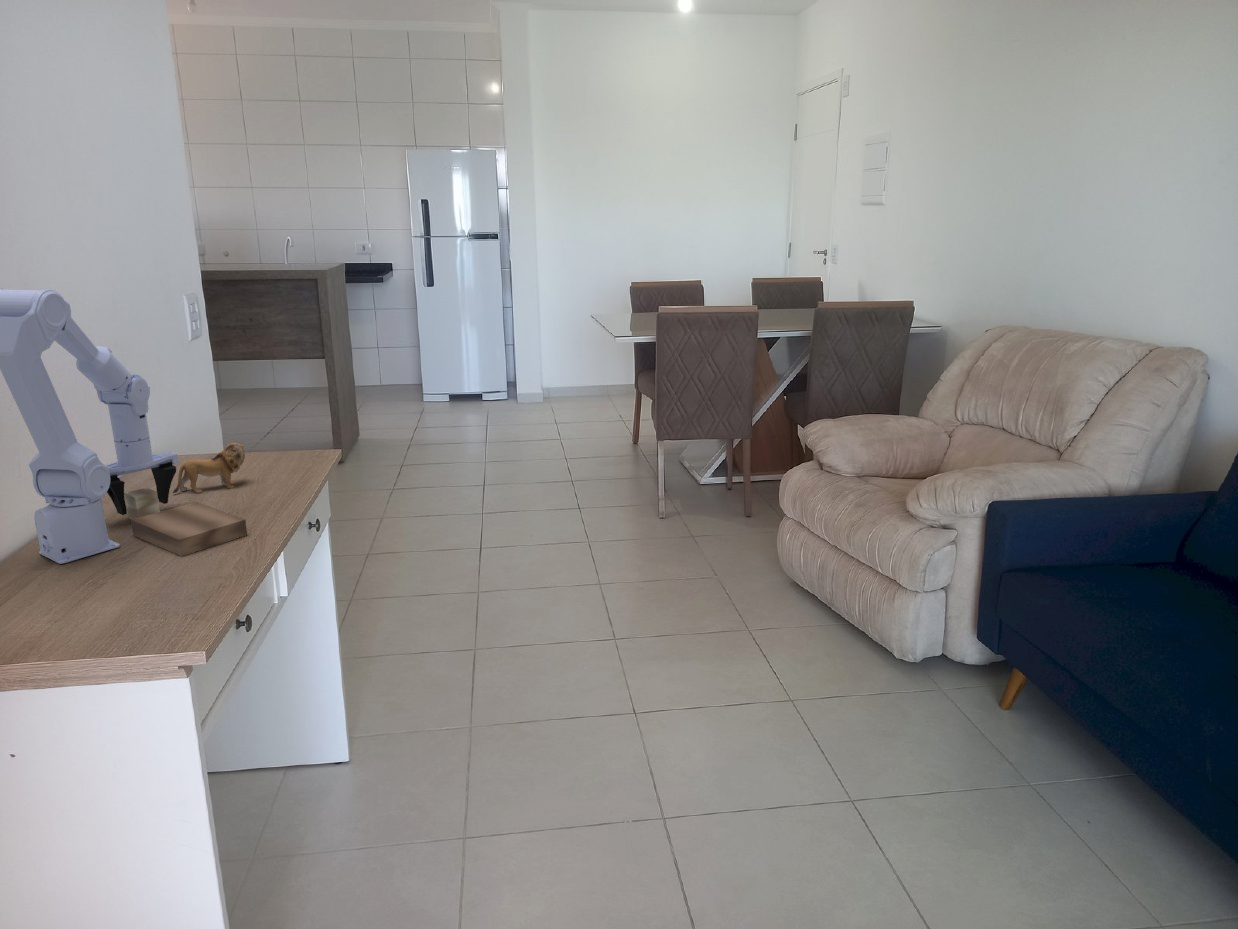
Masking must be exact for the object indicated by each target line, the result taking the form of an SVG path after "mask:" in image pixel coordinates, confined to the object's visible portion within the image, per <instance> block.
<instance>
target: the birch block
mask: <svg viewBox="0 0 1238 929" xmlns="http://www.w3.org/2000/svg"><path fill="white" fill-rule="evenodd" d="M124 498H125V504H126V509H127V517H128V519H130V520H132V519H135V518H139V517H143V516H146V515H150V514H154V513H157V512H161V510H160V502H159V500H158V495H157V490H154V489H150V488H148V487H143V488H138V489H136V490H131V491H126V492H124Z"/></svg>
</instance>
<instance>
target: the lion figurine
mask: <svg viewBox="0 0 1238 929" xmlns="http://www.w3.org/2000/svg"><path fill="white" fill-rule="evenodd" d="M245 453H246V452H245V450H244V445H243V444H240V443H237V442H231V443H229V444H227V445H226V446H225V448H224V449H223V450H222V451H220V452H218V453H217V454H216V455H215V456H214V457H212V458H211V459H210V458H209V459H189V460H187V461H184V462H183V463H182V464H181V465H180V468H179V472H178V475H177V476H178V477H177V484H176V488H175V489H174V490H173V492H172V494H175V493H177V492H179V490H180V491H181V492H182V491H183V492H184V491H187V490H188V487H186V486H185V484H186V483H187V482H188V481H189V480H190V488H192V490H193V491H194V492H195V493H196V494H201V493H203V490H202V489H201V488H198V487H197V481H198V478H199V475H202V476H203V477H210V478H211V477H217V476H219V477H220V479H221V480H220V482H221V485H222V486H226V487H227V489H234V488H235V486H234V484H232V483H231V481H232V474H233V473H237V472H238V471H239V470H240V468H241V466H243V463H244V462H245V457H246V454H245Z"/></svg>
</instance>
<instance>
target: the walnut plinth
mask: <svg viewBox="0 0 1238 929" xmlns="http://www.w3.org/2000/svg"><path fill="white" fill-rule="evenodd" d="M130 524H131V529H132V535H133V536H134V537H136V538H138V539H141V540H142V541H145V542H147V543H149V544H151V545H154V546H156V547H159V548H160V549H161V548H162V549H163V550H166V551H168V552H170V553H173V554H175V555H177V556H180V557H184V556H188V555H191V554H193V553H196V551H197V552H200V551H202V550H206V549H208V548H211V547H215V546H218V545H221V544H225V543H228V542H230V541H234V540H237V539H239V538H238V537H240V538H243V537H246V536H248V530H247V522H246V519H245V518H242V517H239V516H236V515H233V514H231V513H229V512H226V511H223V510H220V509H217V508H214V507H212V506H208V505H206V504H204V503H201V502H198V501H194V502H192V503H191V502H190V503H188V504H183V505H180V506H176V507H172V508H168V509H165V510H160V512H157V513H154V514H150V515H146V516H143V517H139V518H135V519H130ZM236 538H237V539H236Z"/></svg>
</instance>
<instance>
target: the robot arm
mask: <svg viewBox="0 0 1238 929" xmlns="http://www.w3.org/2000/svg"><path fill="white" fill-rule="evenodd" d="M54 342H55V343H56V344H58V345H59V346H61V347H62V348H63V349H65V351H67V352H68V353H70V355H72V356H73V357H74V358H75V359H76V362H75V365H76V369H77V370H78V371H79V372H80V373H81V374H82V375H83V376H84V377H85V378H86V379H87V380H89V382H91V383H92V384H93V387H94V389H95V390H96V394H97V395H96V396H97V397H98V398H97V399H99V401H100V402H101V403H103V404H104V405H107V407H108V413H109V420H110V424H111V431H112V436H113V443H114V449H115V454H116V460H117V461H115V462H111V463H110V464H106V465H105V464H104V463H103V462H101V460H100V459H99V457H98V454H97V453H96V452H95V451H94V450H92V449H90V448H88V446H85V445H83V444H81V443H80V442H78V441H79V440H78V439H77V437H76V435H75V433H74V431H73V428H72V426H71V423H70V421H69V419H68V417H67V415H66V412H65V410H64V408H63V405H62V403H61V401H60V398H59V396H58V393H57V392H56V390H55V386H54V385H53V382H52V380H51V378H50V375H49V373H48V371H47V368H46V366H45V365H44V362H43V360H42V359H43V358H41V357H42V354H43V352H44V351H46V350H49V349H50V348H51V346H52V345H53V343H54ZM112 352H113V351H112V350H111V349H110V348H109V347H105V346H102V345H95V344H94V343H93V342H92V341H91V339H90V338H89V337H88V336H87V334H86V333H85V332H84V331H83V329H82V328H81V327H80V326H79V324H77V322H76V321H75V320H74V319H73V317H72V309H71V304H70V303H69V302H67V300H65V299H64V297H63V296H62V294H61V293H59V292H58V291H56V290H54V289H51V288H49V289H47V288H46V289H10V288H9V289H5V288H1V287H0V372H1V374H2V376H3V378H4V380H5V383H6V385H7V387H8V389H9V391H10V393H11V395H12V398H13V399H14V402H15V404H16V406H17V407H18V410H19V413H20V415H21V417H22V419H23V420H24V423H25V425H26V427H27V429H28V431H29V433H30V436H31V438H32V439H33V442H34V444H35V446H36V448H37V450H38V453H37V454H35V455H34V457H32V459H31V460H30V463H29V464H28V466H29V469H30V471H31V473H32V474H31V475H32V483H33V487H34V490H35V492H36V494H38V495H39V496H40V497H42V498H44V499H45V500H44V501H45V504H48V505H46V506H45V507H42V508H39V509H36V511H35V512H34V516H33V517H34V526H35V529H36V533H37V540H38V543H39V549H40V550H39V554H40V555H42V556H44V557H46V558H48V559H49V560H52V561H53V562H55V563H56V564H60V565H61V564H62V565H63V564H67V563H69V562H73V561H77V560H80V559H83V558H87V557H90V556H93V555H96V554H100V553H103V552H106V551H110V550H113V549H116V548H120V546H121V544H120V543H119V542H115V541H113V540H111V539H109V535H108V528H107V524H106V518H105V512H104V507H103V501H102V500H103V498H105V497H106V494H107V495H108V496H109V498H110V499H111V501H112V503H113V505H114V507H115V509H116V511H117V512H116V513H117V514H118V515H121V516H125V515H128V513H127V507H126V501H125V495H124V493H125V481H123V480H121V478H120V477H119V476H125V475H127V474H132V473H136V472H141V471H144V470H149V469H150V470H151V473H152V476H153V479H154V482H155V486H156V488H155V489H156V491H157V495H158V502H159V503H160V504H164V505H165V504H168V503H169V496H170V490H171V486H172V482H173V479H174V477H175V475H176V473H177V467H176V465H175V464H179V458H178V453H177V452H172V451H170V452H164V453H157V454H153V451H152V445H151V444H152V443H151V438H150V431H149V425H148V418H147V413H149V409H150V408H149V398H150V395H151V387H150V386H149V385H148V384H149V383H148V382H147V381H146V379H145V378H143V377H142V376H141V375H139V374H135V373H133V374H132V372H130V370H128V369H127V366H125V365H124V364H123V363H122V362H121V361H120V360H119V359H118V358H117V357H116V356H115V355H114V354H113V353H112Z"/></svg>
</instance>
